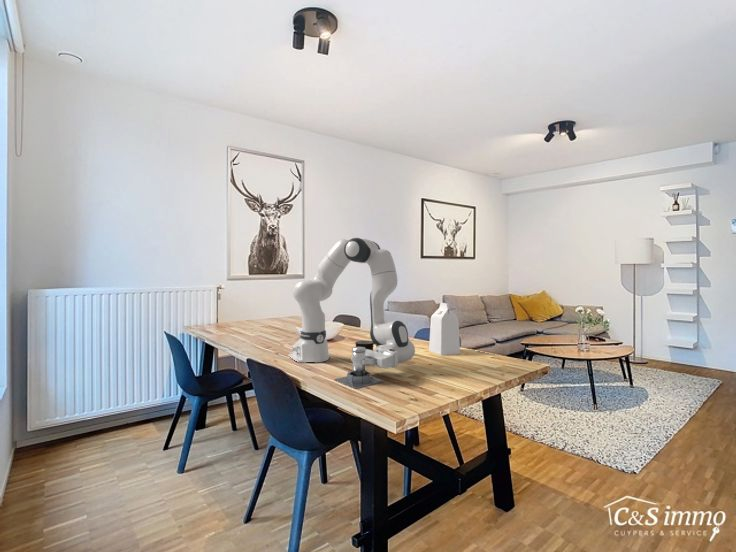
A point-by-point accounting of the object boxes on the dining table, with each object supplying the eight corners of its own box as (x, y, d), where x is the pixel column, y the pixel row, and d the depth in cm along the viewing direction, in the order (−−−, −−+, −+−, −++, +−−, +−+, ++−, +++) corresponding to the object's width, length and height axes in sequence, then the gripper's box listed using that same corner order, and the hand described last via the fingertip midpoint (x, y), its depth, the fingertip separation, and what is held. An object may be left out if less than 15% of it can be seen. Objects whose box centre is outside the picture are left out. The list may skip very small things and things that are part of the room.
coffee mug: (357, 366, 177) (357, 344, 177) (353, 361, 186) (353, 340, 185) (382, 364, 180) (382, 343, 180) (376, 360, 189) (376, 339, 189)
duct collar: (334, 380, 155) (334, 372, 155) (361, 374, 164) (361, 367, 164) (355, 388, 144) (355, 380, 144) (383, 381, 153) (383, 374, 153)
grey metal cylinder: (349, 375, 155) (349, 347, 154) (360, 373, 158) (360, 346, 158) (357, 378, 150) (357, 350, 150) (368, 375, 154) (368, 348, 154)
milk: (460, 353, 203) (460, 303, 202) (441, 355, 198) (441, 304, 198) (447, 349, 214) (447, 301, 213) (429, 350, 210) (429, 302, 209)
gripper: (367, 344, 170) (341, 348, 161) (400, 352, 154) (373, 357, 146) (367, 358, 170) (341, 363, 162) (400, 368, 155) (373, 374, 146)
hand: (357, 360), depth 153 cm, fingers closed on grey metal cylinder, 5 cm apart
